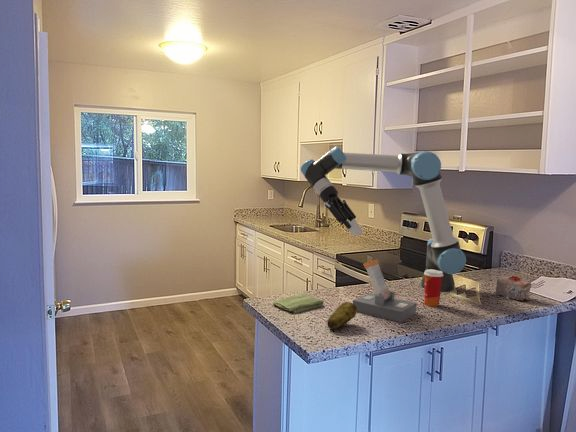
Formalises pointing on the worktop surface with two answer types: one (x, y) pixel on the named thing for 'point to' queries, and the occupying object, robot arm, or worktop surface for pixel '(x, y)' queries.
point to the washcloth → (298, 303)
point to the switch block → (385, 307)
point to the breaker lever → (377, 279)
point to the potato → (342, 315)
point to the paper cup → (432, 287)
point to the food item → (513, 288)
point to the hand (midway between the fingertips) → (358, 233)
